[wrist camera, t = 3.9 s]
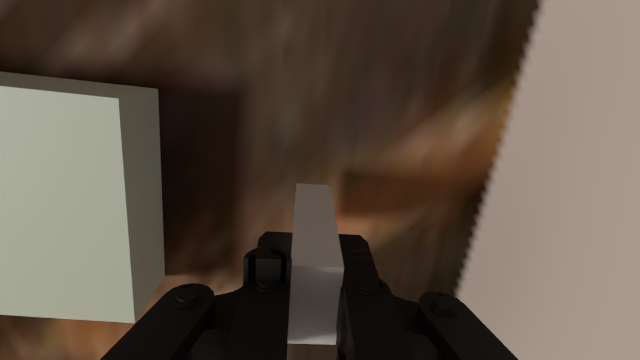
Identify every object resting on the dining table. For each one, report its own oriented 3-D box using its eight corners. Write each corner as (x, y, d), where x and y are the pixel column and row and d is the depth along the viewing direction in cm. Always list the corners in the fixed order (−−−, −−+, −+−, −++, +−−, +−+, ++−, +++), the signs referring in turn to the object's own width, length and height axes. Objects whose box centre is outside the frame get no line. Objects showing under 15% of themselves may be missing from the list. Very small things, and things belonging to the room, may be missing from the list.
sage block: (161, 88, 16) (118, 98, 13) (167, 271, 20) (135, 323, 16) (-120, 57, 16) (-254, 58, 12) (-64, 254, 19) (-155, 304, 15)
